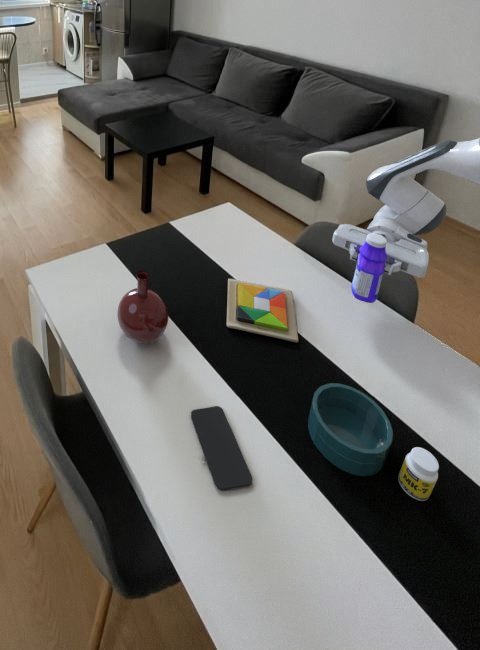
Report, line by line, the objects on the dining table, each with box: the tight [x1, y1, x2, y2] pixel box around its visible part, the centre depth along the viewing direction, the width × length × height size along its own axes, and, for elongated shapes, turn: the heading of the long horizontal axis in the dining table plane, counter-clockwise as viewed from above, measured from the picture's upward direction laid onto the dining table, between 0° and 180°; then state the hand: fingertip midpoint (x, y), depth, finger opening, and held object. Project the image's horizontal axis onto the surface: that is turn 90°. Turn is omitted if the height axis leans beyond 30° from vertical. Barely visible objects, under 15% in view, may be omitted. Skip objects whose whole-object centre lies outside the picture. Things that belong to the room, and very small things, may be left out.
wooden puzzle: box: [226, 278, 299, 343], centre depth 118 cm, size 18×19×4 cm
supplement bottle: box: [397, 446, 440, 502], centre depth 78 cm, size 5×5×8 cm
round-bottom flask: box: [116, 269, 169, 344], centre depth 110 cm, size 13×13×20 cm
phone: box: [190, 405, 253, 492], centre depth 87 cm, size 7×1×15 cm
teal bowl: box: [307, 382, 394, 477], centre depth 86 cm, size 14×14×7 cm
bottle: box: [350, 233, 387, 304], centre depth 106 cm, size 7×6×17 cm
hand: (370, 265), depth 104 cm, fingers closed on bottle, 6 cm apart
